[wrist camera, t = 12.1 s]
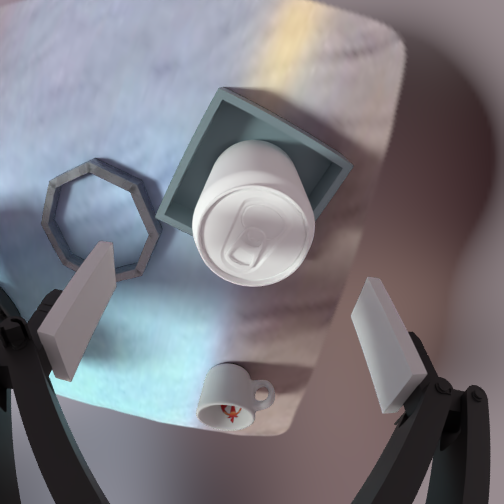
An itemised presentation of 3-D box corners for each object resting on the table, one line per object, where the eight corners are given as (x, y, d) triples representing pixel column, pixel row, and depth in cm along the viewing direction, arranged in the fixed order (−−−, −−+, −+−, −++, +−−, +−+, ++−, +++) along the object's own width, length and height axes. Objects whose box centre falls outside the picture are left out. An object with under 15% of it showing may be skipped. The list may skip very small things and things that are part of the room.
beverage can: (312, 165, 30) (343, 218, 19) (269, 231, 33) (275, 308, 23) (236, 123, 28) (224, 152, 17) (197, 195, 31) (169, 261, 21)
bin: (165, 201, 32) (154, 217, 29) (223, 86, 26) (218, 88, 23) (274, 254, 35) (276, 275, 32) (342, 154, 29) (353, 165, 26)
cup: (267, 350, 43) (269, 397, 36) (278, 382, 47) (280, 426, 40) (194, 360, 45) (186, 405, 38) (212, 390, 48) (207, 432, 42)
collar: (42, 244, 35) (37, 250, 34) (65, 143, 29) (57, 147, 27) (135, 292, 38) (132, 299, 37) (177, 197, 32) (173, 203, 31)
